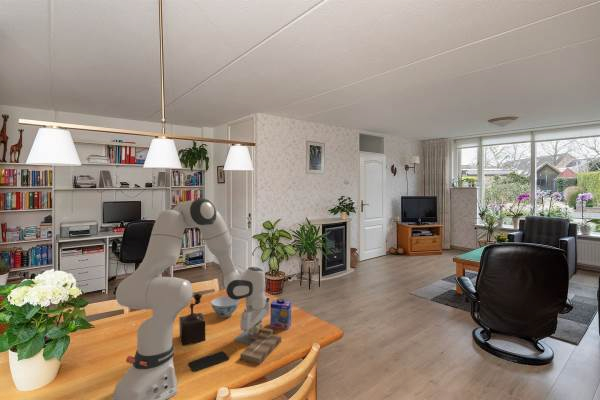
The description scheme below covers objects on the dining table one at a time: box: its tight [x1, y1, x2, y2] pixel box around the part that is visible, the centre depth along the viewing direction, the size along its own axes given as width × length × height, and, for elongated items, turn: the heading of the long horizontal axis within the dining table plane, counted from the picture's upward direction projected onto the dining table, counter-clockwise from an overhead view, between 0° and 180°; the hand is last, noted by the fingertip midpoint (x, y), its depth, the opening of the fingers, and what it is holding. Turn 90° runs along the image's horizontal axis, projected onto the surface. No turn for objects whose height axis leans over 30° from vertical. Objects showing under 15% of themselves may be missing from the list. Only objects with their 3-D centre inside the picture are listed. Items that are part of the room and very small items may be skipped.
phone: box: [187, 350, 230, 373], centre depth 122 cm, size 7×1×15 cm
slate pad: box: [232, 330, 255, 346], centre depth 141 cm, size 10×11×1 cm
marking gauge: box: [248, 323, 273, 340], centre depth 139 cm, size 4×11×6 cm, turn 68°
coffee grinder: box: [178, 292, 207, 346], centre depth 142 cm, size 16×11×18 cm
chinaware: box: [210, 295, 240, 318], centre depth 166 cm, size 15×15×8 cm
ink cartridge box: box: [269, 298, 292, 330], centre depth 154 cm, size 10×6×14 cm, turn 78°
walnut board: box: [239, 333, 282, 366], centre depth 131 cm, size 20×9×3 cm, turn 158°
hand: (255, 331), depth 140 cm, fingers closed on marking gauge, 4 cm apart
